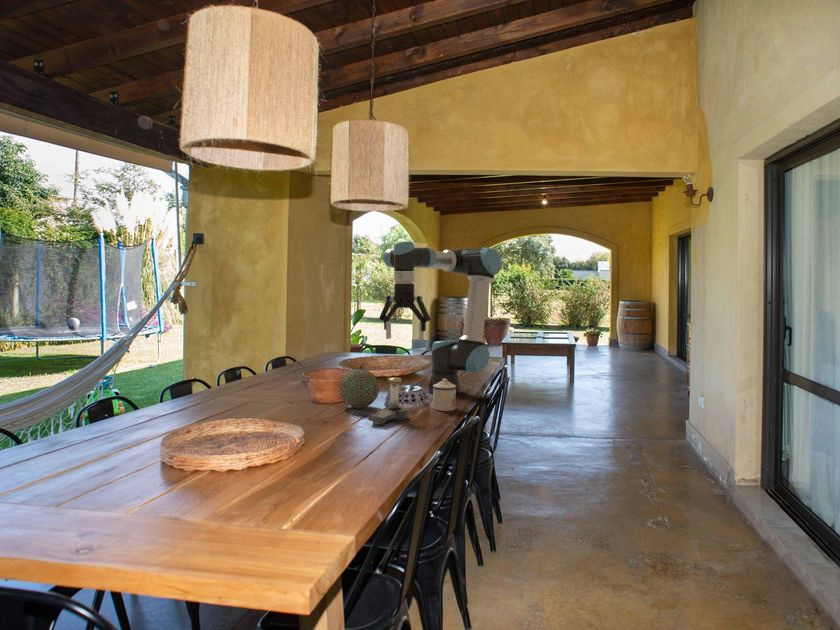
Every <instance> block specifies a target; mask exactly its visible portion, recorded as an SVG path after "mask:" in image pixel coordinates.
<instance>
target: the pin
mask: <svg viewBox="0 0 840 630" xmlns="http://www.w3.org/2000/svg"><path fill="white" fill-rule="evenodd" d="M387 383H389V384H390V385H389V407H390V410H399V407H400V383H402V378H401V377H396V376H394V377H388V378H387Z"/></svg>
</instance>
